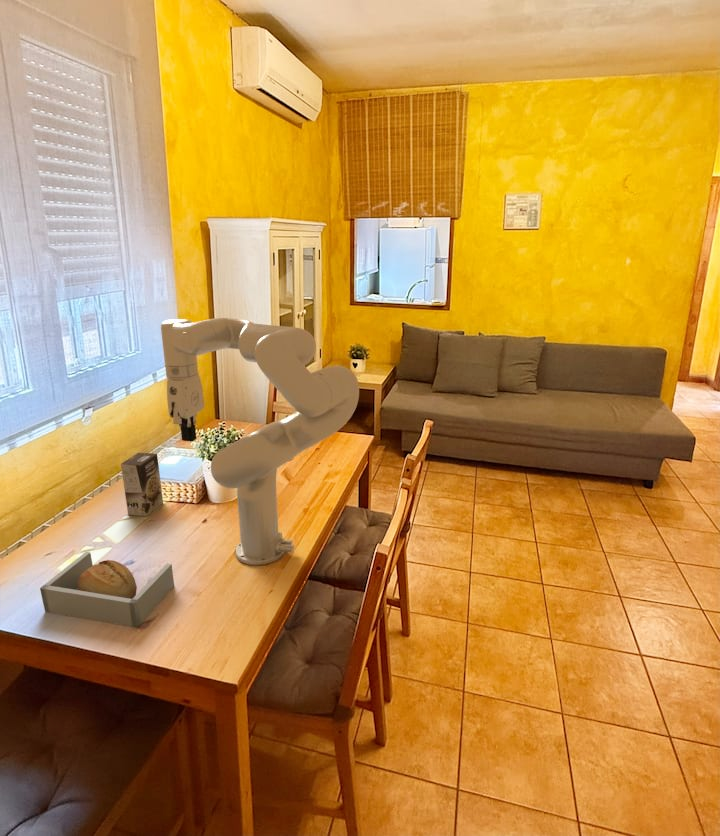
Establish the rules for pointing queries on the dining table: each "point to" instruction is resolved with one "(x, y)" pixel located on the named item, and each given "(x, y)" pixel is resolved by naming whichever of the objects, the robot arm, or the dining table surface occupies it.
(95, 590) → the bread roll
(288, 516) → the dining table surface
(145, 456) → the coffee box
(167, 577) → the box
